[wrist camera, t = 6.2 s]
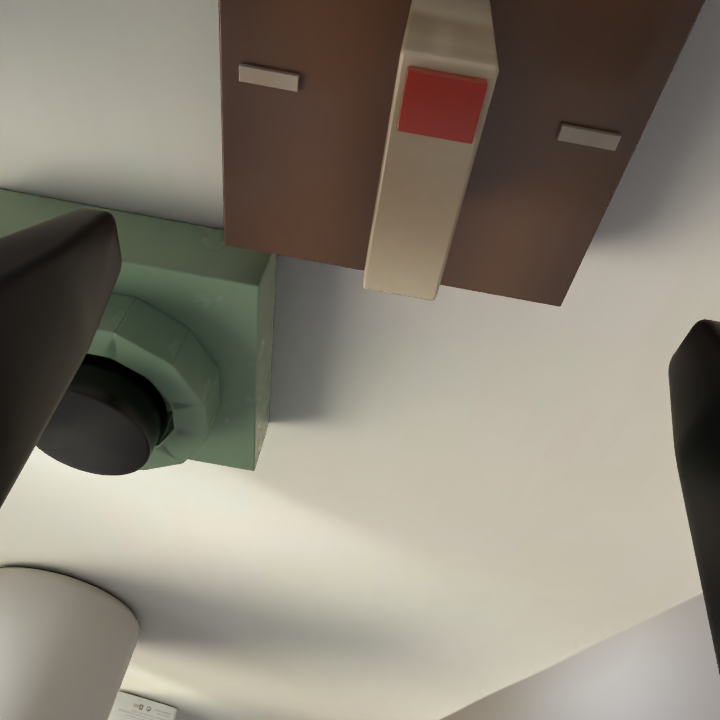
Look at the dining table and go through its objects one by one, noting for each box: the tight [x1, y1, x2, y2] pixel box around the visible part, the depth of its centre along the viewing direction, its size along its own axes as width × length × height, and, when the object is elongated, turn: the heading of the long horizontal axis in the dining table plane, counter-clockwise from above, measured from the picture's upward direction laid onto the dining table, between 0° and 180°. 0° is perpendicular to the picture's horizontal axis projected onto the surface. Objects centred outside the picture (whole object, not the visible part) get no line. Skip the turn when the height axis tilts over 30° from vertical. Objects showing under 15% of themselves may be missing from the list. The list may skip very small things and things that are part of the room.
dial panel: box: [219, 0, 705, 306], centre depth 15 cm, size 10×10×3 cm
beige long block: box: [362, 0, 499, 300], centre depth 13 cm, size 5×2×4 cm, turn 172°
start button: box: [36, 354, 167, 475], centre depth 21 cm, size 4×4×2 cm
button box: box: [0, 189, 277, 471], centre depth 23 cm, size 10×10×4 cm
